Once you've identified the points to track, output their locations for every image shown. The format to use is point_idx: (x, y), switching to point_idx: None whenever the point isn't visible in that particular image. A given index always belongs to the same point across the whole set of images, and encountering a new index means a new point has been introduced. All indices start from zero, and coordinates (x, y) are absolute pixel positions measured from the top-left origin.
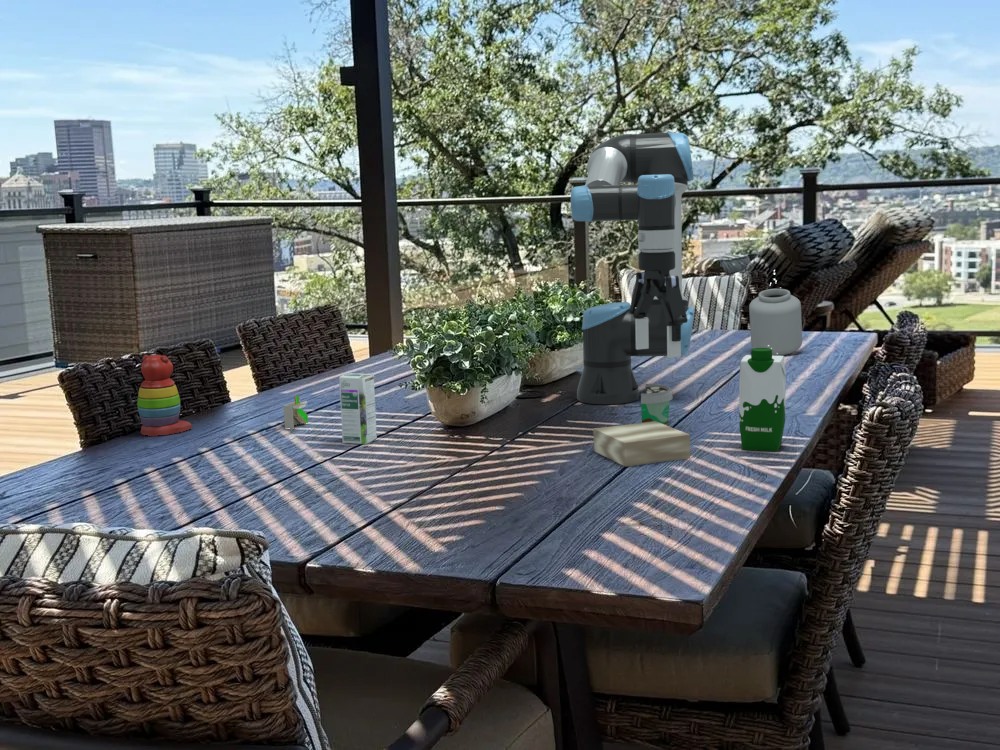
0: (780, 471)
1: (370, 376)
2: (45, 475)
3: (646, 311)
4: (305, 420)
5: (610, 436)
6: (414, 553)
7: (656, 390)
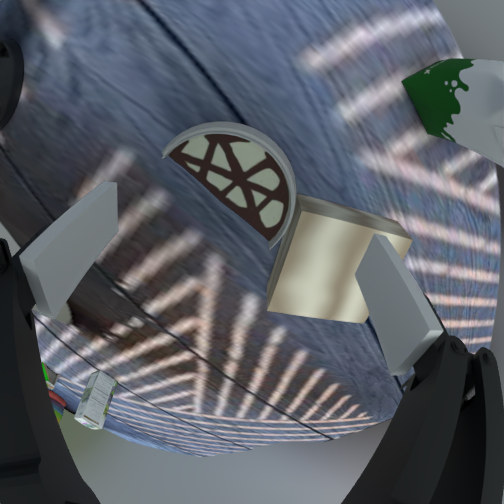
0: (494, 195)
1: (88, 420)
2: (133, 439)
3: (17, 308)
4: (43, 366)
5: (324, 318)
6: (362, 422)
7: (220, 158)
